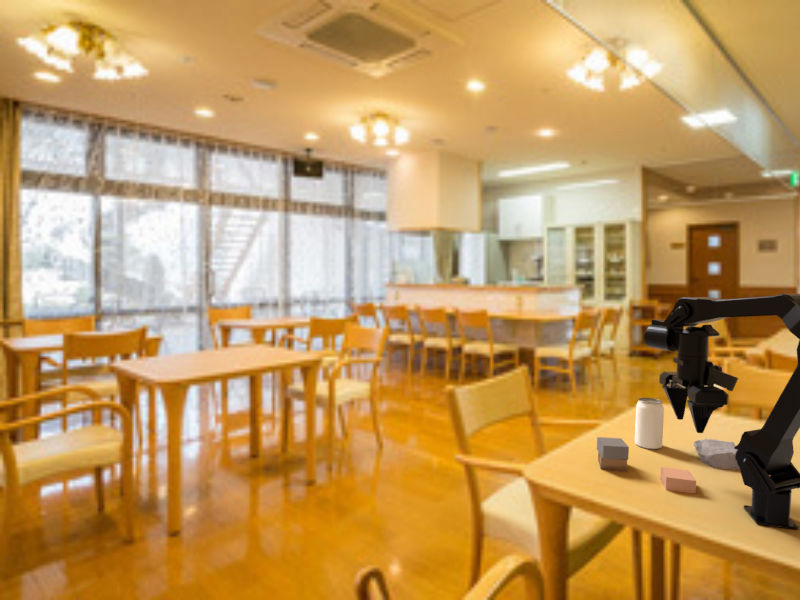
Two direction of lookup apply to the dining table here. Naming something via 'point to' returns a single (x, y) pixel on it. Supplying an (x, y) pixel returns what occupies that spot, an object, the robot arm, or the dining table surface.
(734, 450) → the stone block
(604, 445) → the gray block
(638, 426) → the can
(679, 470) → the terracotta block
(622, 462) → the walnut block
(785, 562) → the dining table surface
